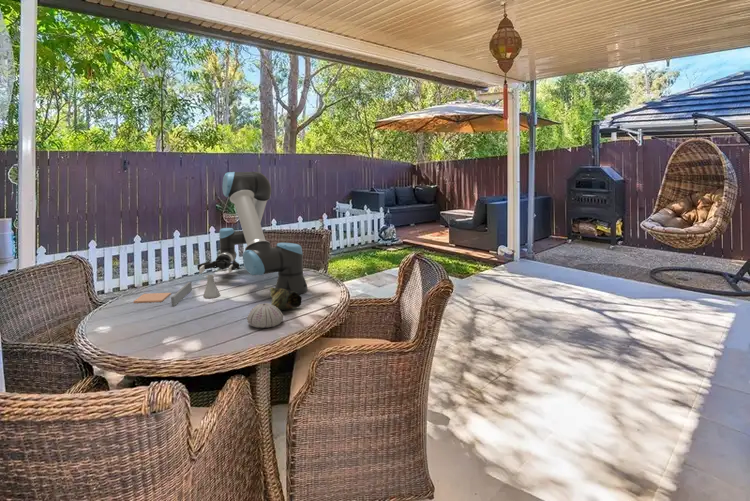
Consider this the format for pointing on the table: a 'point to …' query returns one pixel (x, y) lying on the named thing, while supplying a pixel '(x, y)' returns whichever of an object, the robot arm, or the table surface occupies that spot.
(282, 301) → the seashell
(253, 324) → the sea urchin shell
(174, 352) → the table surface
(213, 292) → the flask
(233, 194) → the robot arm
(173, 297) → the low wall
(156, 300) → the terracotta tile
